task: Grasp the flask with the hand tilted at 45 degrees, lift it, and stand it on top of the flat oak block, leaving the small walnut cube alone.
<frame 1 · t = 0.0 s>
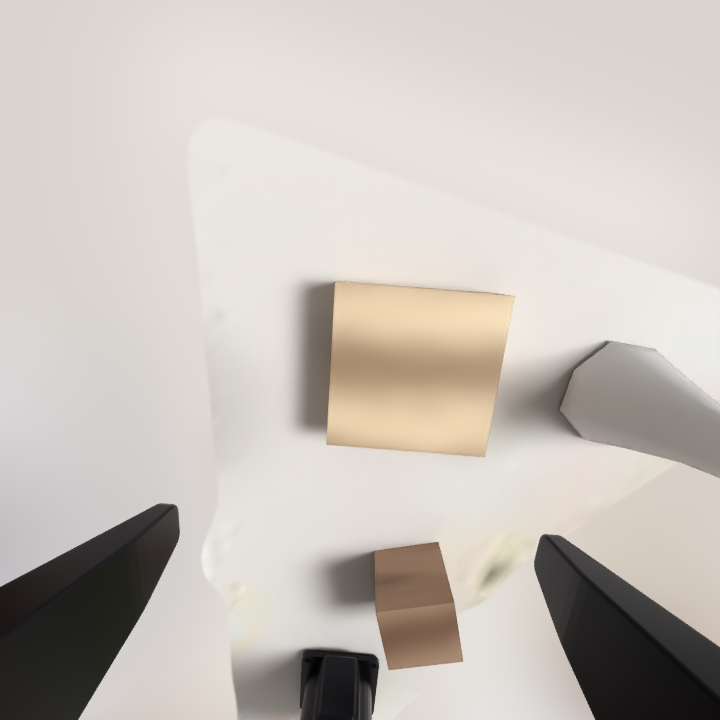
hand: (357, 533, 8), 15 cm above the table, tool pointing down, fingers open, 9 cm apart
oak block: (408, 362, 23), on the table
flask: (612, 393, 23), on the table
walnut cube: (410, 571, 27), on the table
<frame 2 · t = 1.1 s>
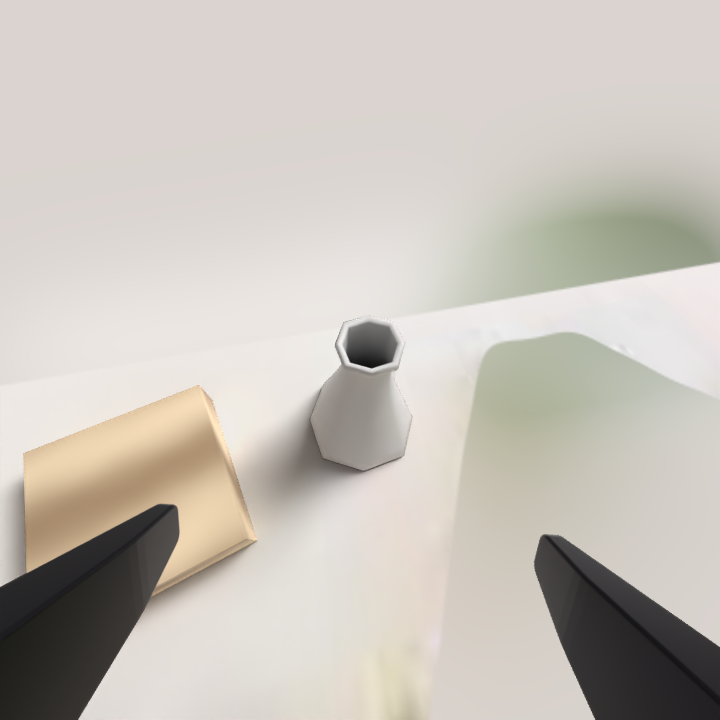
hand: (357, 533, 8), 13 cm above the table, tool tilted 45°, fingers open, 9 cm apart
oak block: (156, 501, 21), on the table
flask: (361, 420, 24), on the table
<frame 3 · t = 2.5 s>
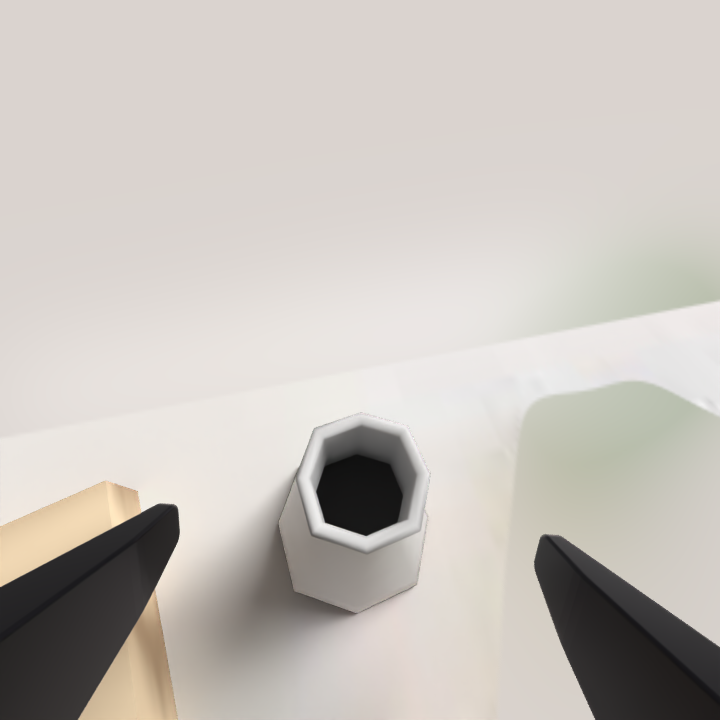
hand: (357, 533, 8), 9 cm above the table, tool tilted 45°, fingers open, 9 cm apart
oak block: (32, 669, 14), on the table
flask: (353, 520, 17), on the table
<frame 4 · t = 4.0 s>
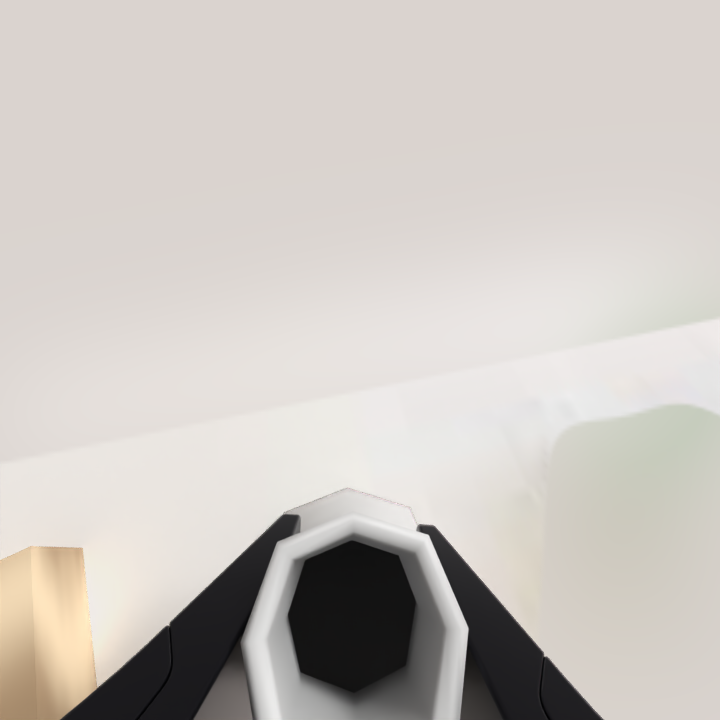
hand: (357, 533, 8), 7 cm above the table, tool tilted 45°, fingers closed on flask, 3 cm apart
flask: (349, 585, 13), on the table, touching gripper
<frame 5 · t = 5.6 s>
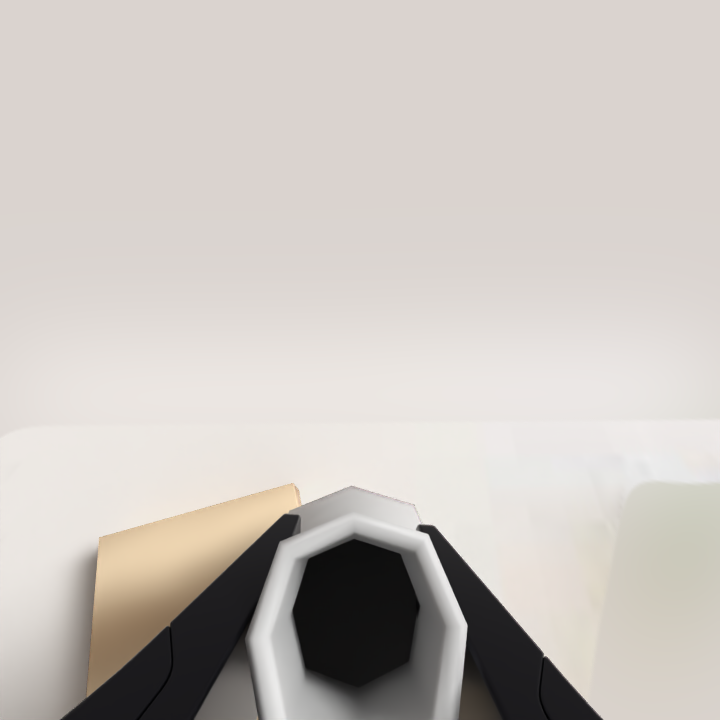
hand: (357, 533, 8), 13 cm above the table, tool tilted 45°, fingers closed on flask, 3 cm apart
oak block: (225, 610, 18), on the table
flask: (354, 581, 14), point 6 cm above the table, touching gripper
when the fingers open (10 cm above the table, at t = 7.0 s): flask drops 1 cm, resting on oak block.
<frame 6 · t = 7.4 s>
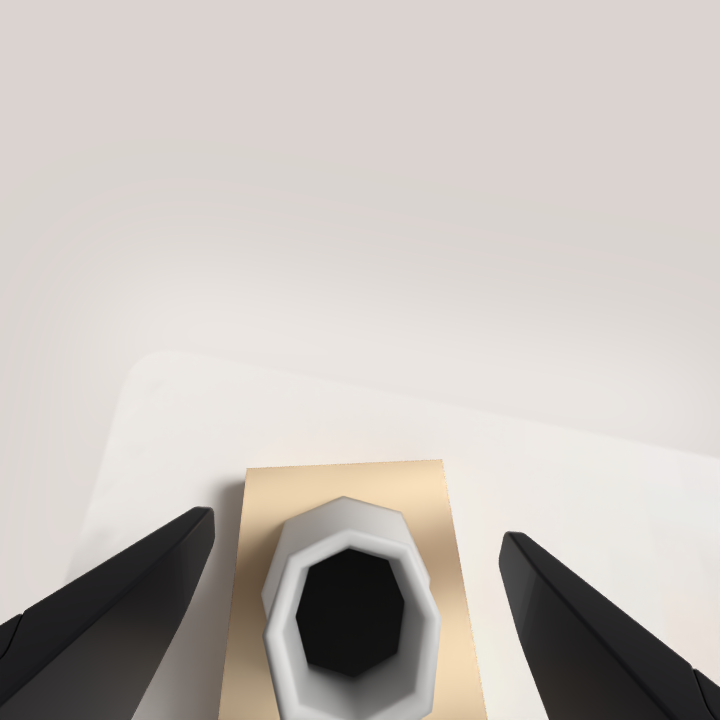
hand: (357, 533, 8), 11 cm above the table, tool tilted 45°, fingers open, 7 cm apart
oak block: (349, 576, 17), on the table, touching flask
flask: (347, 585, 15), point 2 cm above the table, touching oak block
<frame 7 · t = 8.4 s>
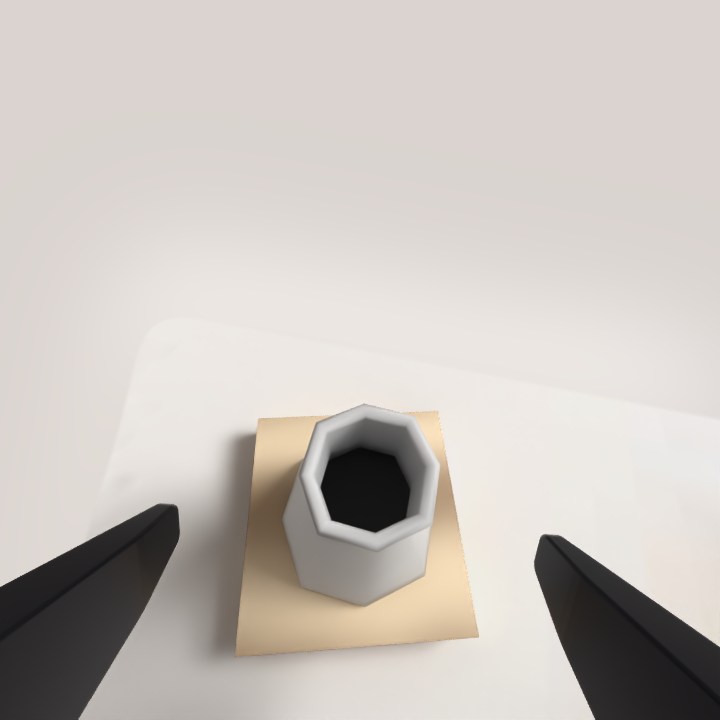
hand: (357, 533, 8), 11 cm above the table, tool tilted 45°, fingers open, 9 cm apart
oak block: (352, 518, 19), on the table, touching flask
flask: (358, 514, 16), point 2 cm above the table, touching oak block
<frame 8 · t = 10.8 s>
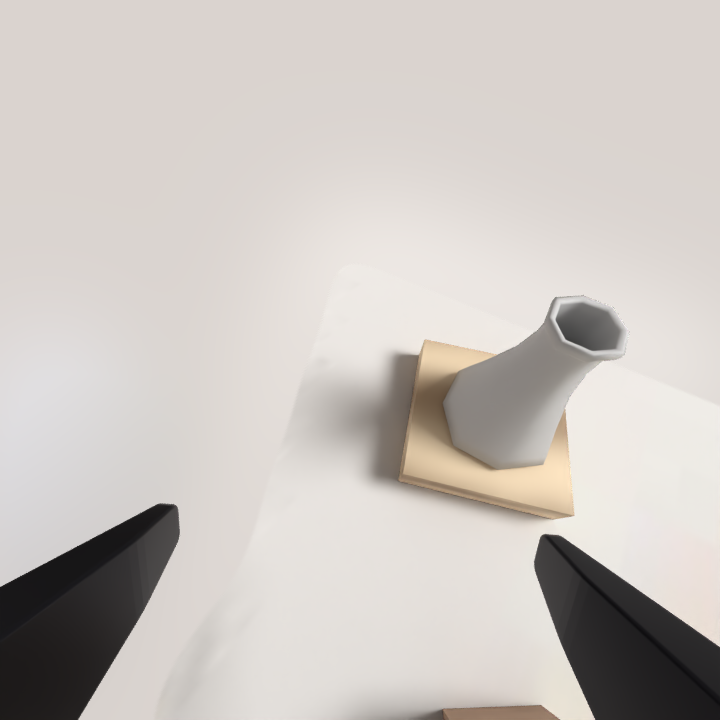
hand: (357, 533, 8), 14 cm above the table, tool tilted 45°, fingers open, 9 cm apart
oak block: (474, 430, 25), on the table
flask: (495, 417, 22), point 2 cm above the table
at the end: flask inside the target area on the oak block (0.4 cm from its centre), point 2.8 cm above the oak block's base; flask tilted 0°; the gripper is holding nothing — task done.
